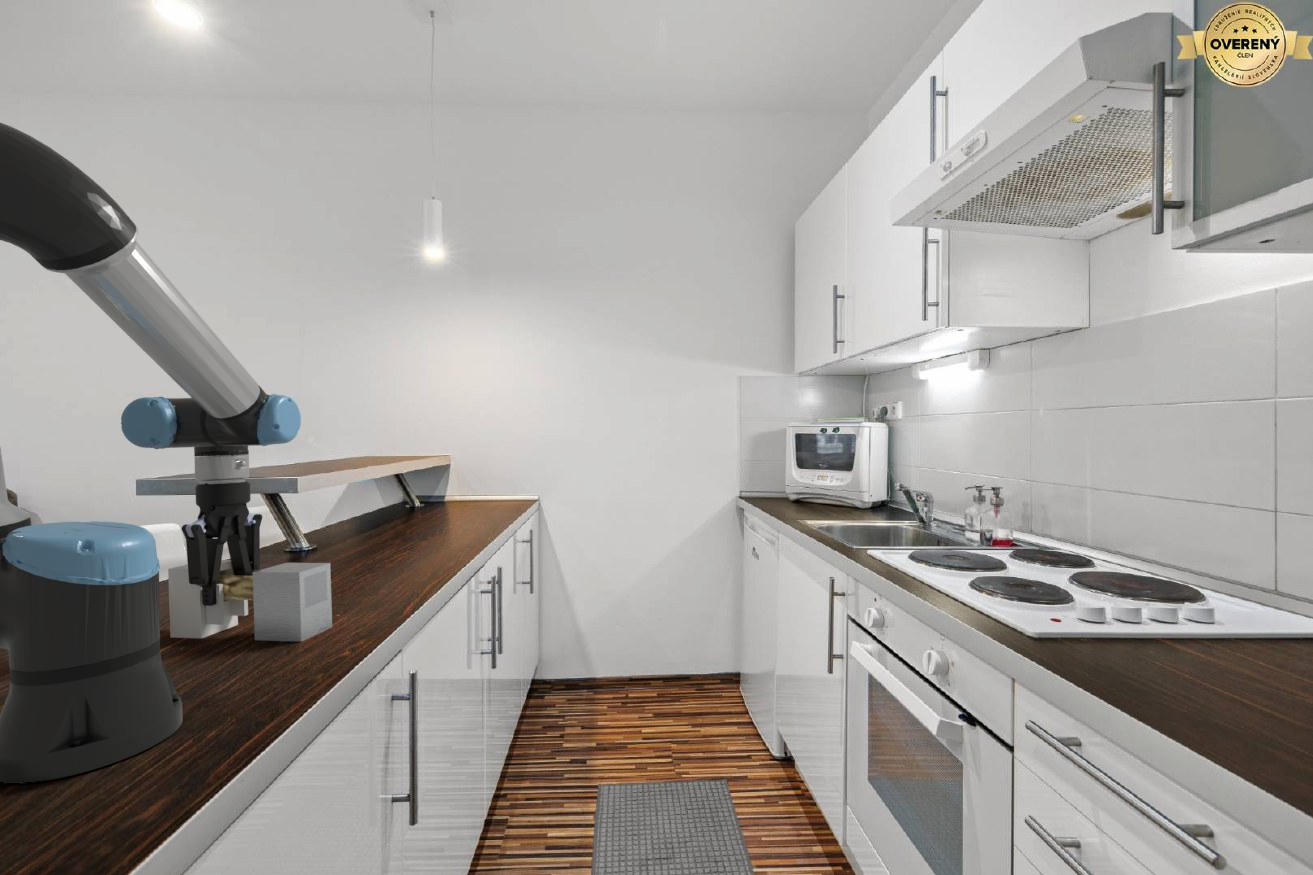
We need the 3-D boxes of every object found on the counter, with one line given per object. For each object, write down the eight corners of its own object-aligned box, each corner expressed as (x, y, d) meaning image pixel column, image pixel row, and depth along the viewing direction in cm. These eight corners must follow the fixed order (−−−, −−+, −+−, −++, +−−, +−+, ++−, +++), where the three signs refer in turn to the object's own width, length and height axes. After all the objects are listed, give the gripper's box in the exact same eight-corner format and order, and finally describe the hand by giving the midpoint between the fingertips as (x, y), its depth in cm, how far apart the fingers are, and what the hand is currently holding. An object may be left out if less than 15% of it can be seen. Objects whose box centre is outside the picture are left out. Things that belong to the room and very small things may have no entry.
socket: (238, 624, 105) (235, 560, 105) (201, 638, 98) (199, 569, 98) (208, 623, 106) (206, 559, 106) (170, 637, 99) (168, 568, 99)
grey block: (332, 627, 102) (330, 562, 102) (301, 641, 95) (299, 572, 95) (288, 626, 103) (286, 562, 103) (254, 640, 97) (252, 572, 97)
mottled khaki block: (287, 596, 102) (286, 573, 102) (268, 603, 98) (267, 579, 98) (216, 595, 104) (215, 572, 104) (194, 602, 100) (194, 578, 100)
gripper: (195, 485, 92) (200, 636, 92) (282, 477, 109) (286, 605, 109) (154, 486, 94) (159, 635, 94) (246, 477, 110) (250, 604, 110)
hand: (227, 618), depth 101 cm, fingers closed on mottled khaki block, 4 cm apart
